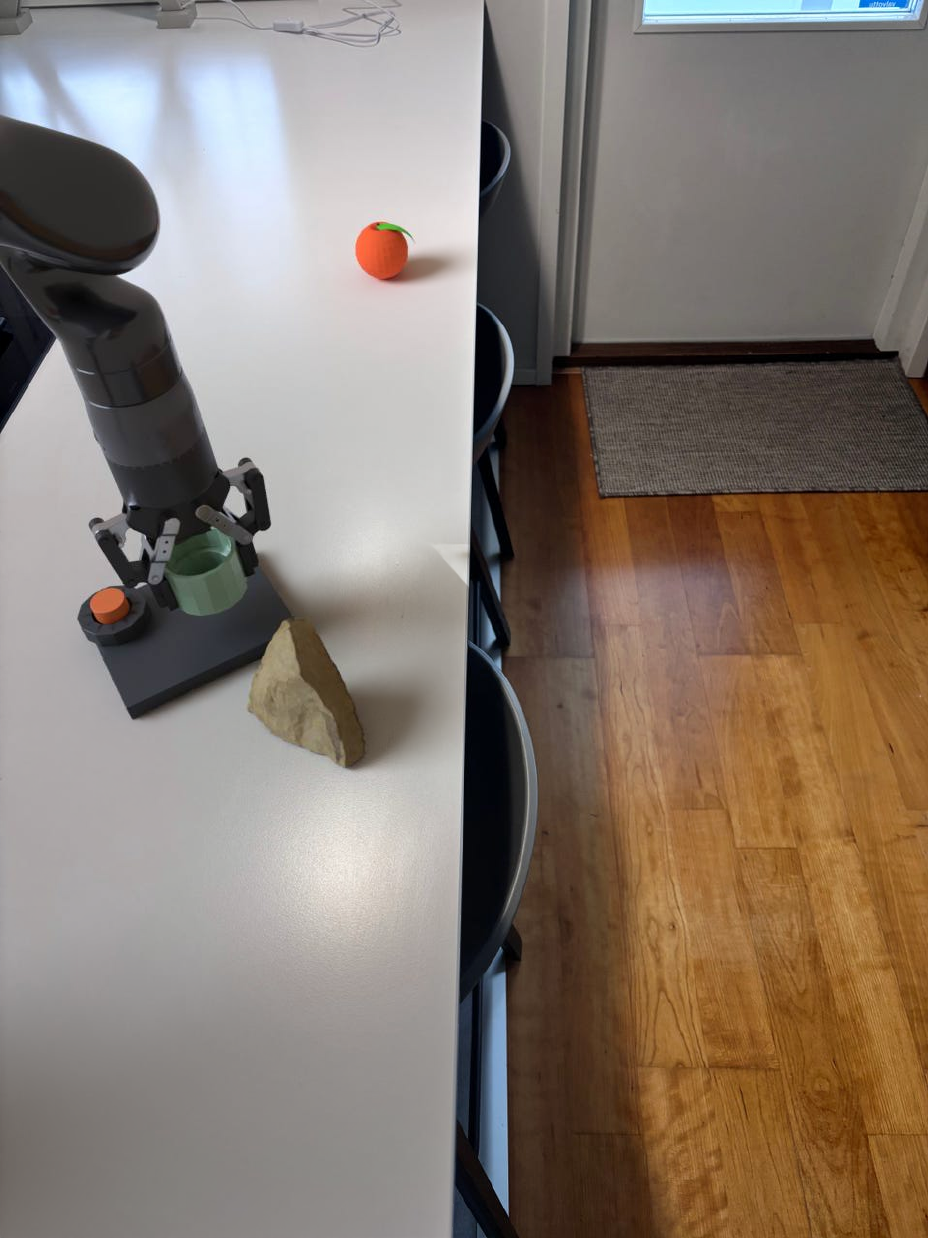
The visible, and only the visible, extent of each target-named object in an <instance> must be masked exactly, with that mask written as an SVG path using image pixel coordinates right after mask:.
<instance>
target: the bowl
mask: <svg viewBox="0 0 928 1238" xmlns="http://www.w3.org/2000/svg"><path fill="white" fill-rule="evenodd" d="M164 576H165V578H166V580H167V582H168V584H169V587H170V589H171V591H172V594H173V596H174V599H175V601H176V603H177V606H178V608H179V609H181V610H182V611H184V612H186V613H187V614H190V615H197V616H206V615H213V614H218V613H221V612H223V611H225V610H227V609H229V608H231V607H232V606H234V605H235V604H236V603H237V602H238V601H239V600H240V599H241V598H242V597H243V595H244V593H245V591H246V589H247V575H246V572H245V569H244V566H243V563H242V560H241V557H240V554H239V551H238V548H237V544H236V541H235V539H233V538H232V537H230V536H226V535H225V534H223V533H222V532H220V531H219V530H217V529H216V528H214V527H213V526H212V527H211V531H209V532H207V533H204V534H201V535H196V536H192V537H191V538H189V539H188V540H187V541H185V542H183V543H181V544H179V545H176V546H175V544H174V546H173V550H172V554H171V558H170V561H169V562H167V563H166V566H165V571H164Z"/></svg>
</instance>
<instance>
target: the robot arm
mask: <svg viewBox="0 0 928 1238" xmlns="http://www.w3.org/2000/svg"><path fill="white" fill-rule="evenodd" d="M153 189H154V188H153V187H152V185H151V183H150V182H149V180H148V179H147V177H146V176H145V175H144V174H143V172H142V171H141V170H140V169H139V167H137V166H136V164H135V163H133V162H132V161H131V160H130V159H128V157H126V156H124V155H123V154H121V153H119V152H118V151H116V150H114V149H112V148H110V147H109V146H106V145H103V144H100V143H97V142H94V141H91V140H90V139H85V138H82V137H80V136H76V135H74V134H71V133H66V132H63V131H59V130H55V129H52V128H49V127H46V126H42V125H39V124H35V123H31V122H27V121H23V120H20V119H16V118H12V117H10V116H6V115H4V114H1V113H0V265H1V268H2V269H3V271H4V272H6V274H7V276H8V278H9V279H10V280H11V281H12V282H13V284H14V285H15V287H16V288H17V289H18V290H19V292H20V293H21V294H22V296H23V297H24V298H25V299H26V301H27V303H28V304H29V305H30V307H31V308H32V309H33V311H34V312H35V313H36V315H37V316H38V318H40V319H41V321H42V322H43V324H44V325H45V326H46V327H47V328H48V329H49V330H50V332H52V334H53V335H54V336H55V337H56V339H57V341H58V342H59V343H60V346H61V348H62V350H63V354H64V356H65V357H66V360H67V363H68V365H69V368H70V370H71V372H72V375H73V377H74V379H75V381H76V384H77V386H78V389H79V391H80V393H81V396H82V398H83V402H84V406H85V410H86V411H85V412H86V413H87V418H88V421H89V423H90V425H91V428H92V433H93V436H94V439H95V441H96V442H97V444H98V445H99V447H100V450H101V452H102V454H103V457H104V459H105V461H106V463H107V465H108V467H109V470H110V473H111V475H112V477H113V479H114V482H115V484H116V486H117V489H118V491H119V493H120V496H121V498H122V507H121V513H119V514H117V515H115V516H113V517H111V518H109V519H106V520H104V519H103V518H102V517H94V518H92V519H90V520H89V522H88V528H89V530H90V532H91V534H92V535H93V537H94V539H95V541H96V543H97V545H98V547H99V548H100V550H101V552H102V553H103V555H104V556H105V558H106V560H107V561H108V563H109V564H110V566H111V567H112V569H113V570H114V571H115V573H116V575H117V576H118V578H119V580H120V581H121V583H122V584H123V585H124V586H125V587H126V588H136V587H137V586H138V585H139V584H143V583H144V584H148V586H149V588H150V590H151V592H152V595H153V597H154V598H155V600H156V602H157V604H158V606H160V607H161V608H162V609H163V608H165V607H167V606H168V608H169V609H170V611H173V610H175V609H177V608H178V606H177V603H176V601H175V599H174V596H173V594H172V591H171V589H170V587H169V584H168V582H167V580H166V578H165V576H164V571H165V566H166V563H167V562H169V561H170V558H171V554H172V550H173V546H174V544H175V546H176V545H179V544H181V543H183V542H185V541H187V540H188V539H189V538H191V537H192V536H196V535H201V534H204V533H207V532H209V531H211V527H212V526H213V527H214V528H216V529H217V530H219V531H220V532H222V533H223V534H225V535H226V536H230V537H232V538H233V539H235V541H236V544H237V548H238V551H239V554H240V557H241V560H242V563H243V566H244V569H245V572H246V575H247V577H249V576H251V575H254V574H255V571H254V568H255V567H257V566H258V565H259V562H260V561H259V560H260V559H259V558H258V557H259V556H258V554H257V551H256V547H255V545H254V537H255V535H256V534H257V533H258V532H267V530H269V529H270V528H271V526H272V520H271V514H270V508H269V501H268V495H267V489H266V483H265V477H264V475H263V473H262V472H261V470H260V469H259V468H258V466H257V465H256V464H255V462H254V461H253V460H252V459H251V458H250V457H248V456H247V457H246V456H245V457H242V458H241V459H240V460H239V461H238V462H237V466H236V467H233V468H230V469H227V470H222V468H220V467H219V466H218V463H217V459H216V456H215V453H214V451H213V447H212V445H211V440H210V438H209V435H208V432H207V428H206V426H205V423H204V419H203V417H202V416H203V415H202V414H201V413H202V412H201V410H200V407H199V404H198V401H197V397H196V394H195V393H194V390H193V386H192V385H191V383H190V381H189V378H188V377H187V375H186V373H185V370H184V369H183V366H182V363H181V360H180V357H179V354H178V351H177V347H176V345H175V342H174V339H173V335H172V333H171V329H170V325H169V323H168V320H167V318H166V315H165V312H164V311H163V308H162V306H161V304H160V302H159V301H158V300H157V298H155V296H154V295H153V294H152V293H151V292H149V291H148V290H146V289H145V288H142V287H140V286H139V285H136V284H134V283H132V282H129V281H128V280H126V279H124V278H122V277H120V276H121V275H124V274H127V273H130V272H132V271H134V270H136V269H137V268H139V267H140V266H141V265H143V264H144V263H145V262H146V261H147V260H148V258H149V257H150V256H151V254H152V253H153V252H154V249H155V248H156V245H157V243H158V240H159V237H160V232H161V212H160V206H159V203H158V199H157V197H156V193H155V192H154V190H153ZM231 487H235V488H236V489H237V491H238V492H239V493H240V494H242V495H243V501H244V506H245V511H246V512H245V513H244V514H243V515H241V516H240V517H239V516H238V515H236V514H235V513H234V512H233V511H231V510H230V509H228V507H226V506H225V503H226V500H227V498H228V496H229V493H230V491H231ZM129 529H131V530H133V531H135V532H137V533H139V534H141V535H140V542H141V548H140V553H139V557H138V560H132V561H129V558H128V557H127V556H126V553H125V552H124V551H123V548H124V547H125V543H126V541H127V537H126V533H127V531H128V530H129Z"/></svg>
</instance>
